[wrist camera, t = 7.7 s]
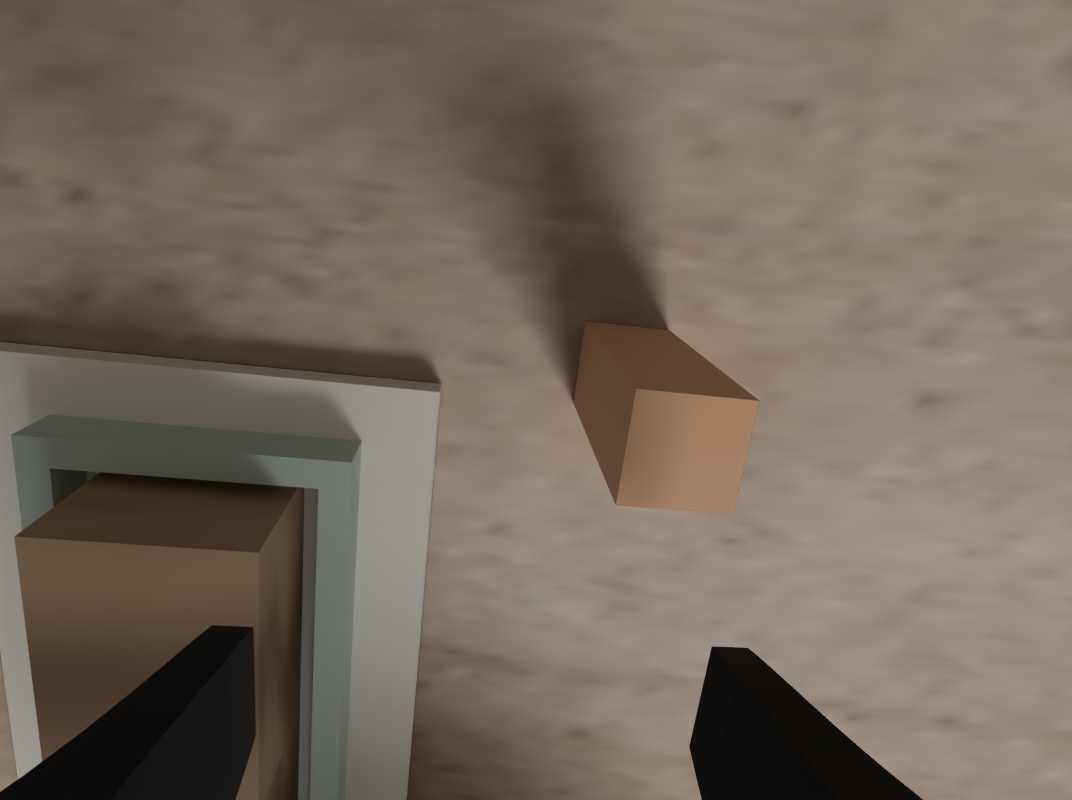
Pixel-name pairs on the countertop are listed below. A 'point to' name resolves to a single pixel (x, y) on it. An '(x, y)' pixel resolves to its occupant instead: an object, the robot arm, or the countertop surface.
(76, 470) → the cradle
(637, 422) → the tan square block
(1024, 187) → the countertop surface
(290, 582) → the tan box sleeve
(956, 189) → the countertop surface
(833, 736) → the robot arm
